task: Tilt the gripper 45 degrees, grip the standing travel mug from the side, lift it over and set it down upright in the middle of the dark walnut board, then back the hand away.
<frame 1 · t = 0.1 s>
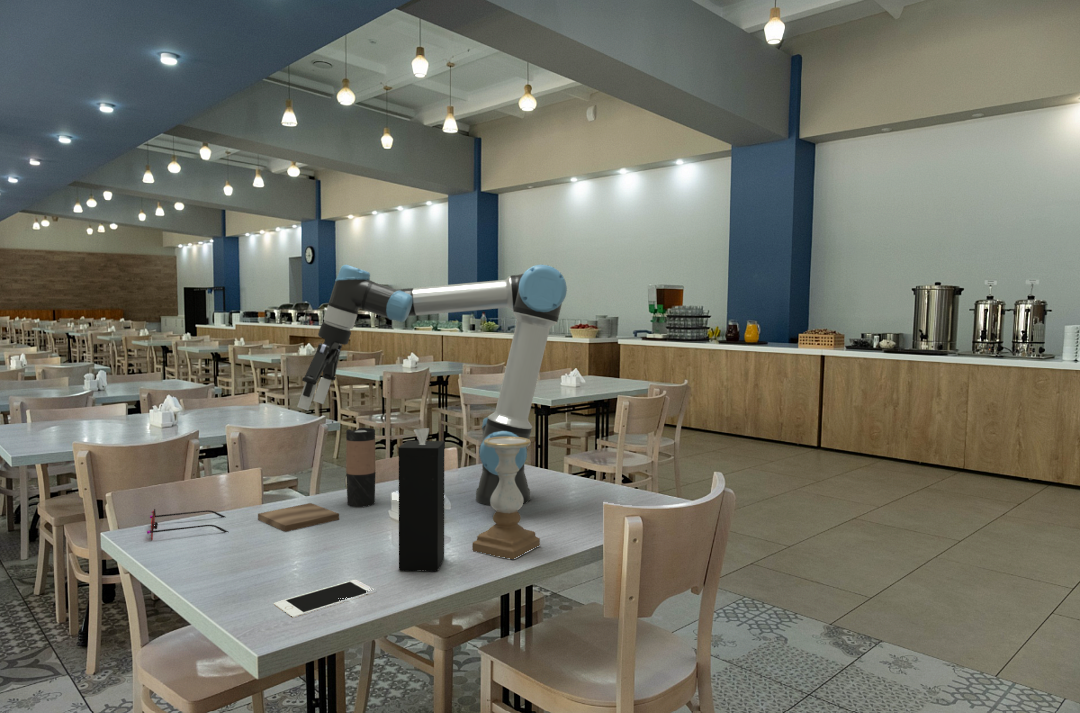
hand: (310, 405, 174), 28 cm above the table, tool tilted 20°, fingers open, 13 cm apart
glasses: (188, 531, 162), on the table
candle holder: (506, 549, 150), on the table
walnut board: (298, 519, 170), on the table
cell phone: (326, 601, 123), on the table
travel mug: (361, 504, 185), on the table
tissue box: (422, 565, 140), on the table
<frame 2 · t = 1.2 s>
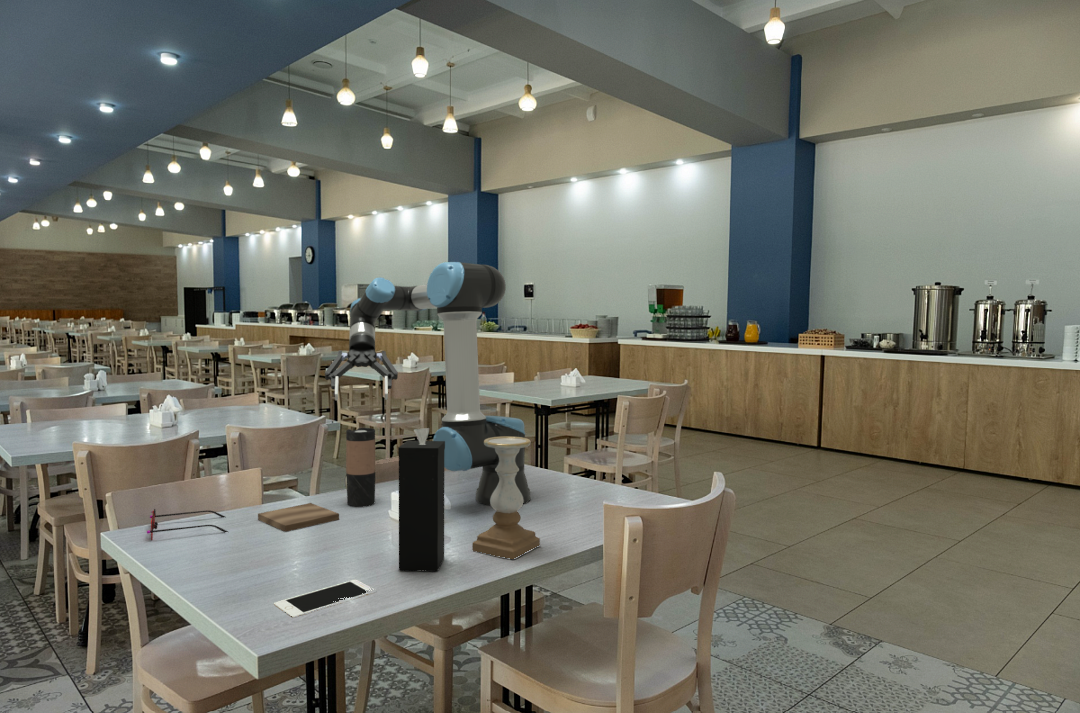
hand: (361, 397, 193), 28 cm above the table, tool tilted 45°, fingers open, 13 cm apart
nothing on the table moved.
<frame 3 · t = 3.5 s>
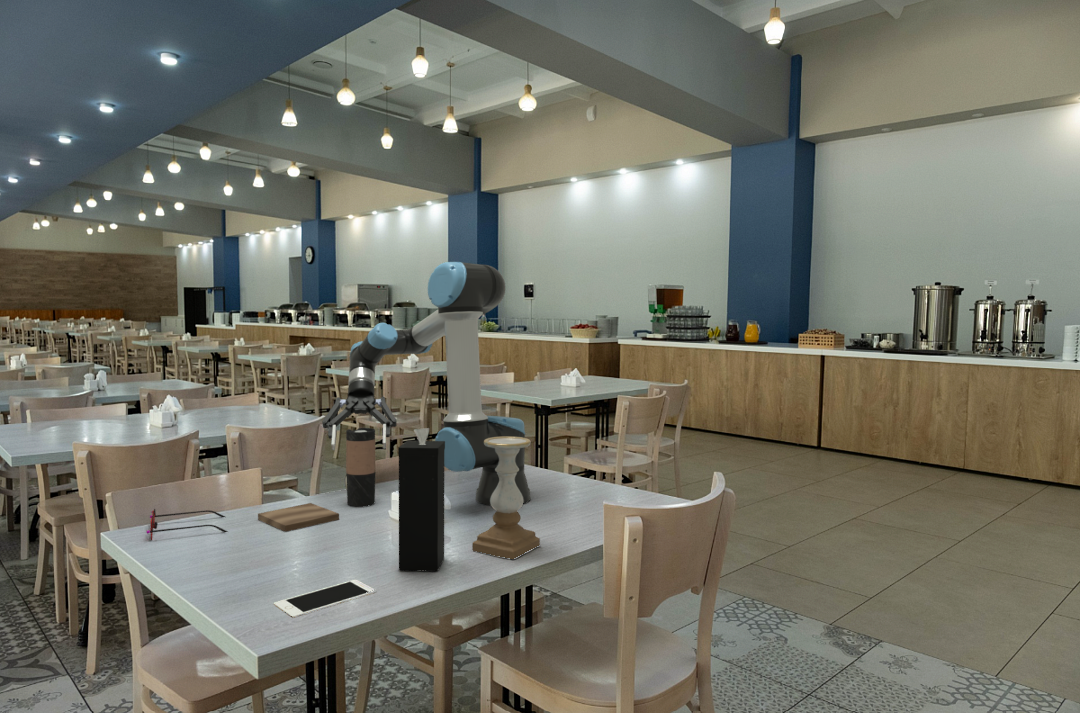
hand: (358, 446, 189), 15 cm above the table, tool tilted 45°, fingers open, 13 cm apart
nothing on the table moved.
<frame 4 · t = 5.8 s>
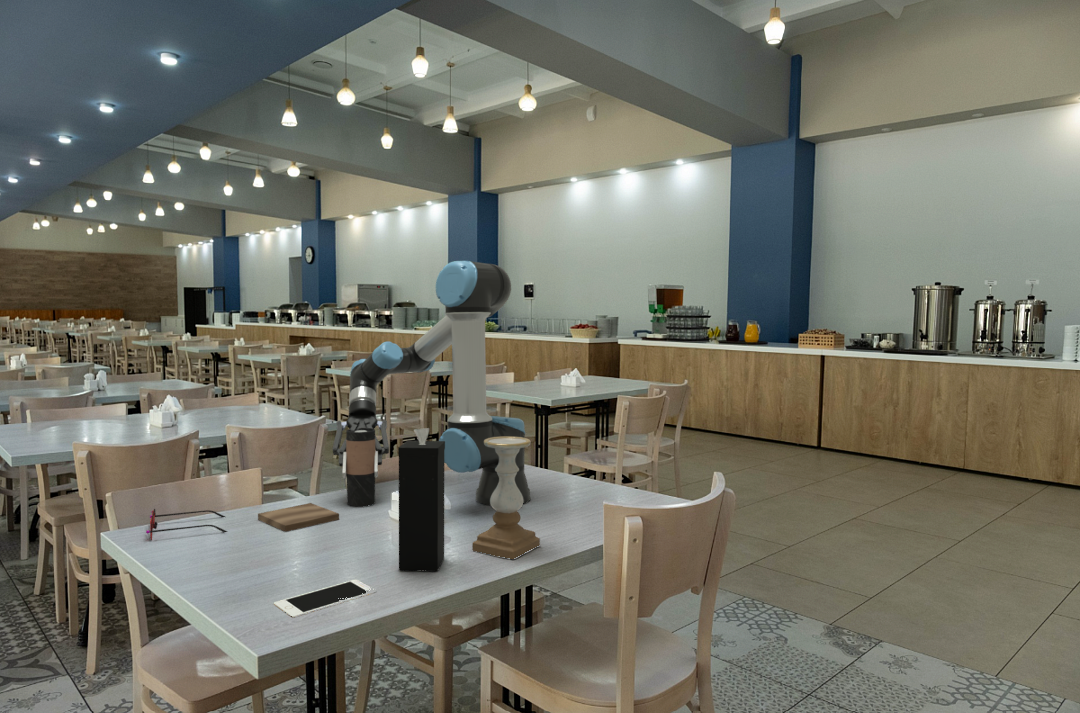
hand: (360, 474, 181), 9 cm above the table, tool tilted 45°, fingers closed on travel mug, 7 cm apart
travel mug: (361, 504, 185), on the table, touching gripper
everything else where it was.
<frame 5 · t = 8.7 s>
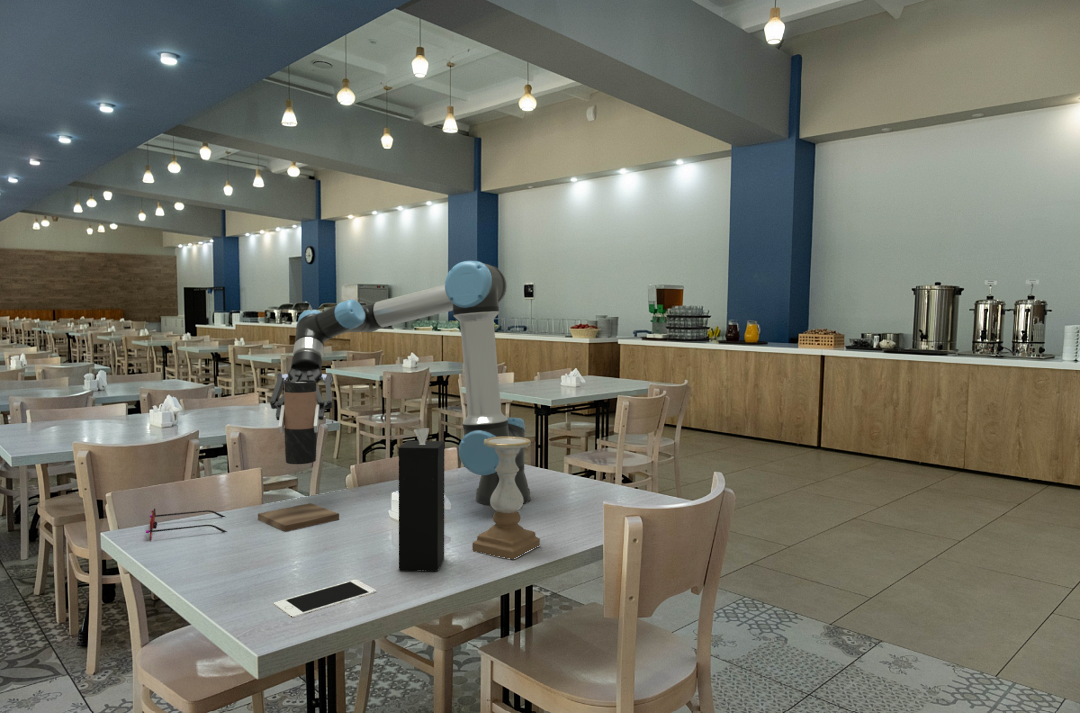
hand: (298, 429, 167), 23 cm above the table, tool tilted 45°, fingers closed on travel mug, 7 cm apart
travel mug: (300, 462, 171), point 14 cm above the table, touching gripper
everything else where it was.
when the fingers open (11 cm above the table, at t = 11.9 s): travel mug drops 1 cm, resting on walnut board.
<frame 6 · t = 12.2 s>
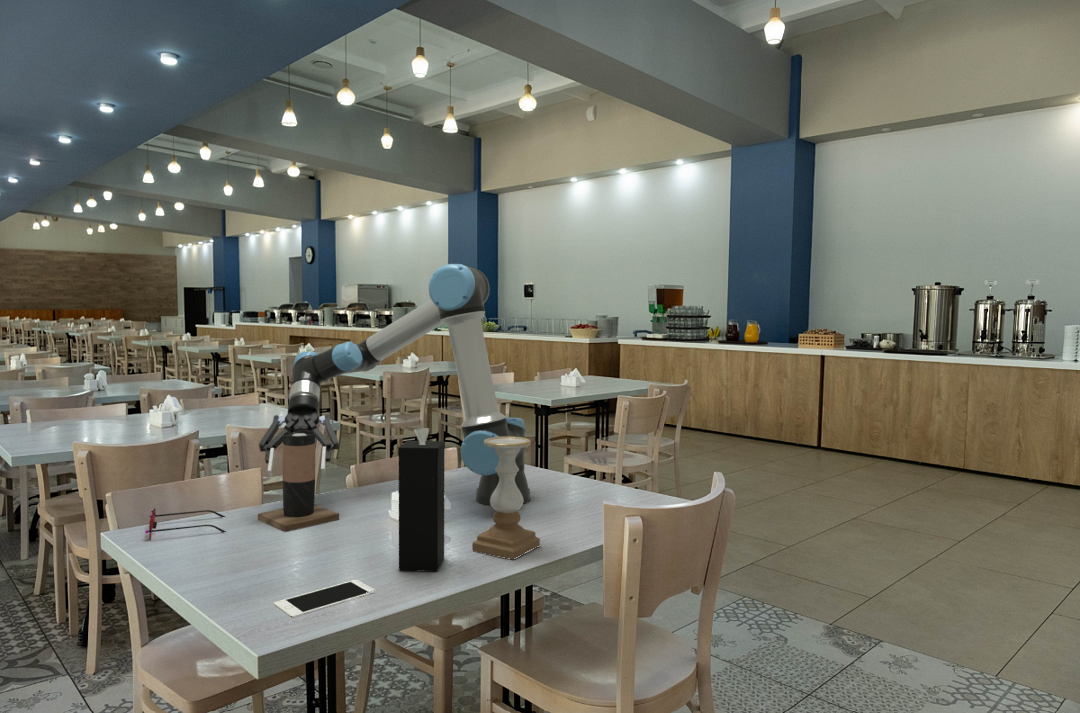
hand: (296, 472, 167), 12 cm above the table, tool tilted 45°, fingers open, 11 cm apart
travel mug: (298, 513, 170), point 1 cm above the table, touching walnut board
everything else where it was.
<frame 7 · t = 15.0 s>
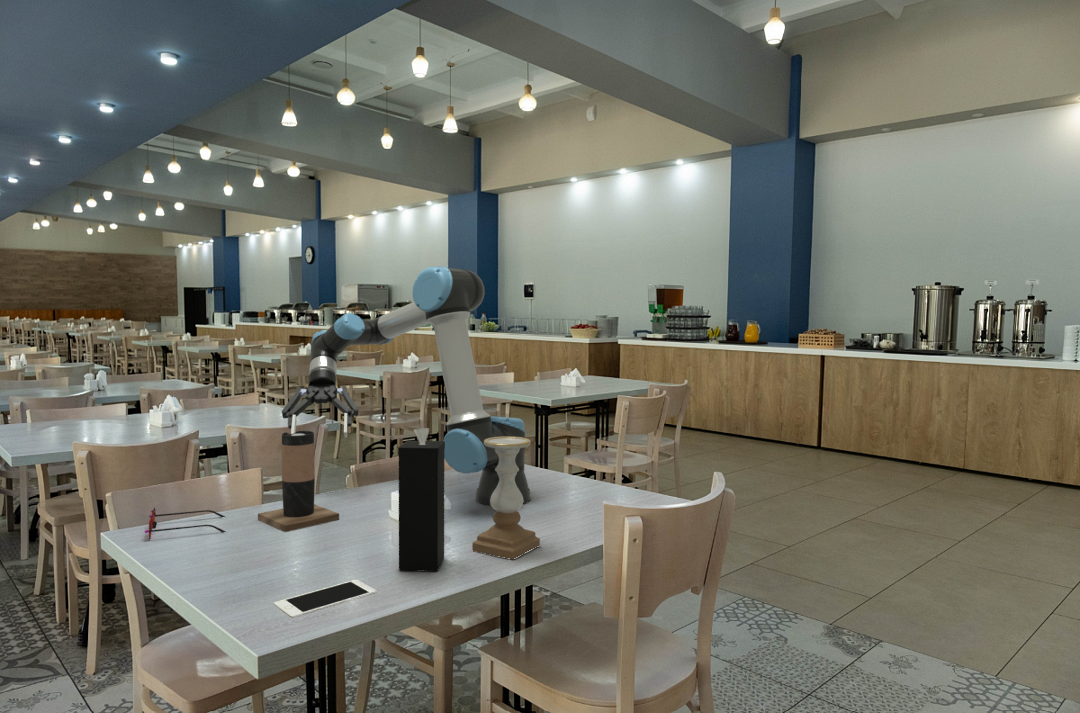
hand: (319, 436, 186), 18 cm above the table, tool tilted 45°, fingers open, 13 cm apart
nothing on the table moved.
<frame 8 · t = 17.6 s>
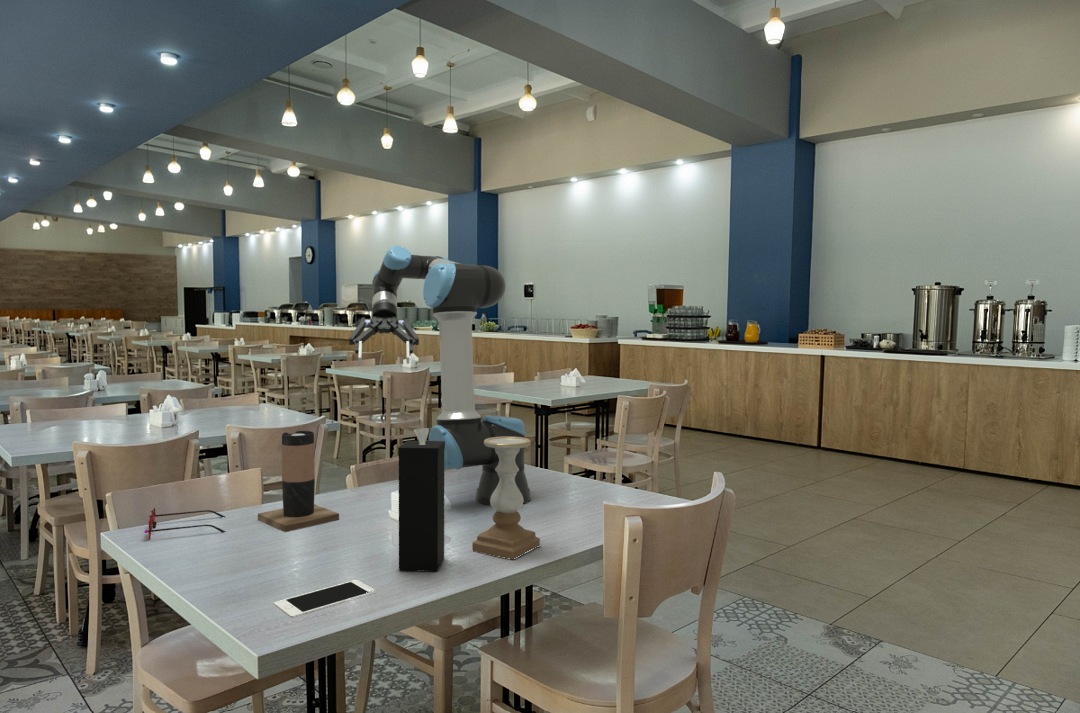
hand: (384, 360, 199), 38 cm above the table, tool tilted 45°, fingers open, 13 cm apart
nothing on the table moved.
at the end: travel mug 0.2 cm from the walnut board (horizontally); travel mug tilted 0°; travel mug touching walnut board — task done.
